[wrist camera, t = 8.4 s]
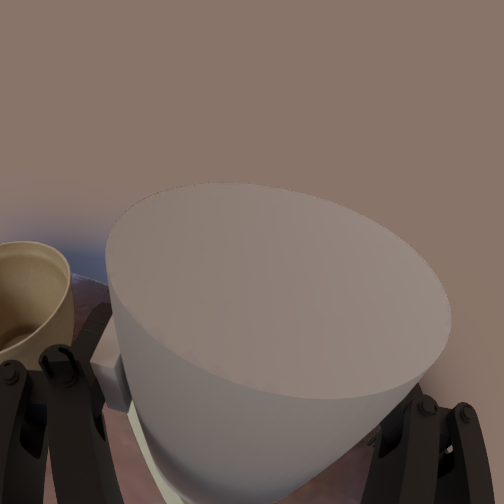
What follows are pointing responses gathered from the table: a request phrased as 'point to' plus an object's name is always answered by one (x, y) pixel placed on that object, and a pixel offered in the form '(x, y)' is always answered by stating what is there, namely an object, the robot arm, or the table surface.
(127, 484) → the table surface
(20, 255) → the planter bowl
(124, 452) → the table surface
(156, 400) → the white cylinder
